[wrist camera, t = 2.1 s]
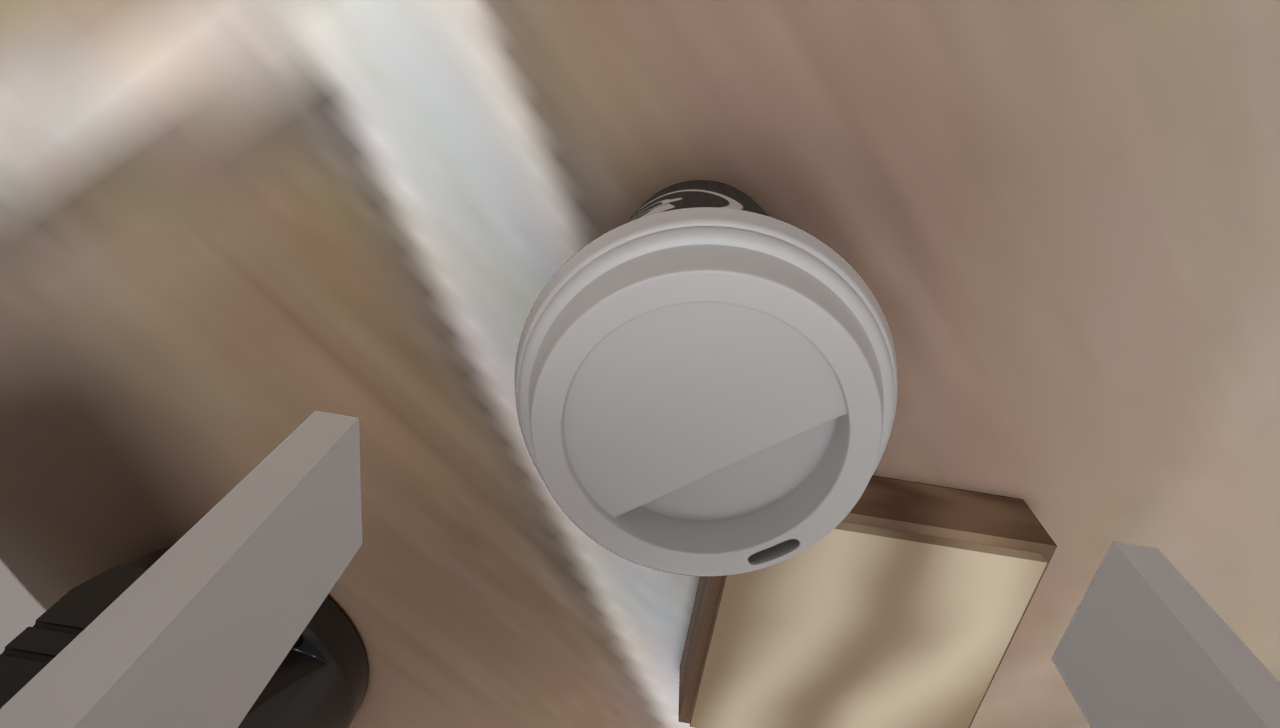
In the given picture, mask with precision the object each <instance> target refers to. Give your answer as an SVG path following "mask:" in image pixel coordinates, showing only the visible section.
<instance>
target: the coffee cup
mask: <svg viewBox="0 0 1280 728" xmlns="http://www.w3.org/2000/svg"><path fill="white" fill-rule="evenodd" d="M897 394H898V372H897V360H896V353H895V348H894V343H893V339H892V336H891V332H890V329H889V326H888V323H887V321H886V318H885V316H884V314H883V312H882V310H881V308H880V306H879V304H878V302H877V300H876V298H875V297H874V295H873V294H872V292H871V290H870V289H869V288H868V286H867V285H866V283H865V282H864V281H863V279H862V278H861V277H860V276H859V275H858V273H857V272H856V271H855V270H854V269H853V268H852V267H851V266H850V265H849V264H848V263H847V262H846V261H845V260H844V259H843V258H842V257H841V256H840V255H838V254H837V253H836V252H835V251H834V250H832V249H831V248H830V247H828V246H827V245H826V244H824V243H823V242H821V241H820V240H818V239H817V238H815V237H814V236H812V235H810V234H808V233H807V232H805V231H803V230H801V229H799V228H797V227H795V226H793V225H790V224H788V223H786V222H783V221H781V220H778V219H775V218H772V217H770V216H769V215H768V214H767V213H766V212H765V211H764V210H763V209H762V208H761V207H760V206H759V205H758V204H756V203H755V202H754V201H753V200H752V199H751V198H750V197H748V196H747V195H746V194H744V193H743V192H741V191H739V190H737V189H736V188H733V187H731V186H729V185H726V184H723V183H719V182H714V181H704V180H697V181H687V182H683V183H679V184H675V185H673V186H670V187H668V188H666V189H664V190H662V191H660V192H658V193H657V194H655V195H654V196H652V197H651V198H650V199H649V200H647V201H646V202H645V203H644V204H643V205H642V206H641V207H640V209H639V210H638V211H637V212H636V213H635V214H634V215H633V217H632V218H631V219H630V220H629V221H628V222H627V223H626V224H623V225H621V226H619V227H617V228H615V229H613V230H611V231H609V232H607V233H605V234H603V235H602V236H600V237H598V238H597V239H595V240H594V241H592V242H591V243H589V244H588V245H586V246H585V247H584V248H582V249H581V250H580V251H579V252H577V253H576V254H575V255H574V256H573V257H571V258H570V259H569V260H568V261H567V262H566V263H565V264H564V265H563V266H562V267H561V268H560V269H559V270H558V271H557V273H556V274H555V275H554V276H553V277H552V278H551V280H550V281H549V282H548V284H547V285H546V286H545V288H544V289H543V291H542V292H541V294H540V295H539V297H538V299H537V300H536V302H535V304H534V306H533V308H532V310H531V312H530V314H529V316H528V318H527V321H526V323H525V326H524V329H523V332H522V335H521V338H520V342H519V347H518V352H517V358H516V366H515V396H516V407H517V414H518V419H519V424H520V428H521V432H522V435H523V438H524V441H525V444H526V446H527V449H528V451H529V454H530V456H531V458H532V460H533V463H534V465H535V467H536V469H537V470H538V472H539V474H540V476H541V477H542V479H543V480H544V482H545V484H546V486H547V488H548V490H549V491H550V493H551V495H552V496H553V498H554V499H555V501H556V502H557V504H558V505H559V507H560V508H561V509H562V510H563V512H564V513H565V514H566V515H567V516H568V518H569V519H570V520H571V521H572V522H573V523H574V524H575V525H576V526H577V527H578V528H579V529H580V530H582V531H583V532H584V533H585V534H586V535H588V536H589V537H590V538H591V539H593V540H594V541H595V542H597V543H598V544H600V545H601V546H603V547H604V548H606V549H608V550H609V551H611V552H613V553H615V554H617V555H619V556H621V557H623V558H625V559H627V560H629V561H632V562H634V563H637V564H639V565H642V566H645V567H648V568H651V569H655V570H659V571H663V572H668V573H673V574H680V575H689V576H725V575H734V574H741V573H746V572H751V571H755V570H759V569H762V568H766V567H769V566H772V565H775V564H777V563H780V562H782V561H785V560H787V559H789V558H791V557H793V556H795V555H797V554H799V553H801V552H803V551H804V550H806V549H808V548H809V547H811V546H813V545H814V544H815V543H817V542H818V541H820V540H821V539H822V538H824V537H825V536H826V535H827V534H829V533H830V532H831V531H832V530H833V529H834V528H835V527H836V526H838V525H839V523H840V522H841V521H842V520H843V519H844V518H845V517H846V516H847V515H848V514H849V512H850V511H851V510H852V509H853V507H854V506H855V505H856V503H857V502H858V500H859V499H860V497H861V496H862V494H863V492H864V490H865V489H866V487H867V485H868V483H869V481H870V479H871V477H872V475H873V474H874V472H875V470H876V468H877V466H878V464H879V462H880V460H881V458H882V456H883V453H884V451H885V448H886V446H887V443H888V440H889V437H890V434H891V431H892V427H893V423H894V419H895V413H896V406H897Z"/></svg>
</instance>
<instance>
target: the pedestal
mask: <svg viewBox="0 0 1280 728" xmlns="http://www.w3.org/2000/svg"><path fill="white" fill-rule="evenodd" d="M1056 547H1057V545H1056V544H1055V543H1054V541H1053V540H1052V538H1051V537H1050V536H1049V534H1048V533H1047V532H1046V530H1045V529H1044V528H1043V526H1042V525H1041V523H1040V522H1039V521H1038V519H1037V518H1036V517H1035V515H1034V514H1033V512H1032V511H1031V510H1030V508H1029V507H1028V506H1027V504H1026V503H1025V501H1024V500H1022V499H1015V498H1009V497H1003V496H997V495H990V494H984V493H978V492H971V491H965V490H959V489H953V488H946V487H940V486H934V485H927V484H921V483H915V482H909V481H902V480H896V479H890V478H883V477H877V476H872V477H871V479H870V481H869V483H868V485H867V487H866V489H865V490H864V492H863V494H862V496H861V497H860V499H859V500H858V502H857V503H856V505H855V506H854V507H853V509H852V510H851V511H850V512H849V514H848V515H847V516H846V517H845V518H844V519H843V520H842V521H841V522H840V523H839V525H838V526H836V527H835V528H834V529H833V530H832V531H831V532H830V533H829V534H827V535H826V536H825V537H824V538H822V539H821V540H820V541H818V542H817V543H815V544H814V545H813V546H811V547H809V548H808V549H806V550H804V551H803V552H801V553H799V554H797V555H795V556H793V557H791V558H789V559H787V560H785V561H782V562H780V563H777V564H775V565H772V566H769V567H766V568H762V569H759V570H755V571H751V572H746V573H741V574H734V575H725V576H701V577H700V581H699V585H698V590H697V594H696V599H695V603H694V608H693V612H692V616H691V621H690V625H689V630H688V634H687V639H686V643H685V647H684V652H683V656H682V661H681V665H680V682H679V722H685V723H690V727H695V728H970V726H971V724H972V722H973V720H974V718H975V715H976V713H977V711H978V709H979V707H980V705H981V703H982V701H983V699H984V697H985V695H986V693H987V691H988V688H989V686H990V684H991V682H992V680H993V678H994V676H995V674H996V672H997V670H998V668H999V666H1000V664H1001V661H1002V659H1003V657H1004V655H1005V653H1006V651H1007V649H1008V647H1009V645H1010V643H1011V641H1012V639H1013V637H1014V634H1015V632H1016V630H1017V628H1018V626H1019V624H1020V622H1021V620H1022V618H1023V616H1024V614H1025V612H1026V610H1027V607H1028V605H1029V603H1030V601H1031V599H1032V597H1033V595H1034V593H1035V591H1036V589H1037V587H1038V585H1039V583H1040V580H1041V578H1042V576H1043V574H1044V572H1045V570H1046V568H1047V566H1048V564H1049V562H1050V560H1051V558H1052V556H1053V553H1054V551H1055V549H1056Z"/></svg>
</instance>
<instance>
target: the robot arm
mask: <svg viewBox="0 0 1280 728" xmlns="http://www.w3.org/2000/svg"><path fill="white" fill-rule="evenodd" d="M361 545H362V510H361V476H360V441H359V418H358V417H352V416H345V415H339V414H333V413H327V412H321V411H315V412H313V413H312V414H311V415H310V416H309V417H308V418H307V419H306V420H305V421H304V422H303V423H302V424H301V425H300V426H299V427H298V428H297V429H295V430H294V431H293V432H292V433H291V434H290V435H289V436H288V437H287V438H286V439H285V440H284V441H283V442H282V443H281V444H280V445H279V446H278V447H276V448H275V449H274V450H273V451H272V452H271V453H270V454H269V455H268V456H267V457H266V458H265V459H264V460H263V461H262V462H261V463H260V464H259V465H257V466H256V467H255V468H254V469H253V470H252V471H251V472H250V473H249V474H248V475H247V476H246V477H245V478H244V479H243V480H242V481H241V482H239V483H238V484H237V485H236V486H235V487H234V488H233V489H232V490H231V491H230V492H229V493H228V494H227V495H226V496H225V497H224V498H223V499H222V500H220V501H219V502H218V503H217V504H216V505H215V506H214V507H213V508H212V509H211V510H210V511H209V512H208V513H207V514H206V515H205V516H204V517H203V518H201V519H200V520H199V521H198V522H197V523H196V524H195V525H194V526H193V527H192V528H191V529H190V530H189V531H188V532H187V533H186V534H185V535H184V536H182V537H181V538H180V539H179V540H178V541H177V542H176V543H175V544H174V545H173V546H172V547H171V548H170V549H166V550H162V551H159V552H156V553H153V554H151V555H149V556H146V557H144V558H142V559H141V560H139V561H137V562H136V563H134V564H133V565H132V566H131V567H130V566H124V565H116V566H115V567H113V568H111V569H109V570H107V571H105V572H103V573H101V574H99V575H97V576H96V577H94V578H92V579H90V580H88V581H86V582H84V583H82V584H80V585H78V586H77V587H75V588H73V589H72V590H70V591H69V592H68V593H67V594H66V595H65V596H63V597H62V598H61V599H60V600H59V601H58V602H56V603H55V604H54V605H53V606H52V607H51V608H50V609H48V610H47V611H46V612H45V613H44V614H43V615H42V616H41V617H39V618H38V619H37V620H36V623H35V625H34V626H33V627H28V628H26V629H25V630H24V631H23V632H22V633H21V634H20V635H18V636H17V637H16V638H15V639H14V640H13V641H11V642H10V643H9V644H8V645H7V646H6V647H5V650H4V652H3V653H2V654H1V655H0V728H349V726H350V724H351V722H352V720H353V718H354V716H355V714H356V712H357V710H358V709H359V707H360V705H361V703H362V701H363V698H364V696H365V693H366V688H367V682H368V667H367V660H366V656H365V652H364V649H363V647H362V644H361V642H360V639H359V637H358V635H357V633H356V632H355V630H354V628H353V627H352V625H351V624H350V622H349V621H348V619H347V618H346V617H345V615H344V614H343V613H342V612H341V611H340V609H339V608H338V607H337V606H336V605H335V604H334V603H333V602H332V601H331V600H330V599H329V598H328V597H327V595H328V594H329V592H330V591H331V589H332V588H333V587H334V585H335V584H336V582H337V581H338V579H339V578H340V576H341V575H342V573H343V572H344V570H345V569H346V567H347V566H348V564H349V563H350V562H351V560H352V559H353V557H354V556H355V554H356V553H357V551H358V550H359V548H360V547H361ZM1052 660H1053V662H1054V664H1055V665H1056V667H1057V669H1058V671H1059V672H1060V674H1061V676H1062V678H1063V679H1064V681H1065V683H1066V685H1067V686H1068V688H1069V690H1070V692H1071V693H1072V695H1073V697H1074V698H1075V700H1076V702H1077V704H1078V705H1079V707H1080V709H1081V711H1082V712H1083V714H1084V716H1085V718H1086V719H1087V721H1088V723H1089V725H1090V726H1091V728H1280V682H1279V681H1278V680H1277V679H1276V678H1275V677H1274V676H1273V675H1272V674H1271V672H1270V671H1269V670H1268V669H1267V668H1266V667H1265V666H1264V665H1263V664H1262V663H1261V661H1260V660H1259V659H1258V658H1257V657H1256V656H1255V655H1254V654H1253V653H1252V652H1251V651H1250V649H1249V648H1248V647H1247V646H1246V645H1245V644H1244V643H1243V642H1242V641H1241V640H1240V638H1239V637H1238V636H1237V635H1236V634H1235V633H1234V632H1233V631H1232V630H1231V629H1230V627H1229V626H1228V625H1227V624H1226V623H1225V622H1224V621H1223V620H1222V619H1221V618H1220V616H1219V615H1218V614H1217V613H1216V612H1215V611H1214V610H1213V609H1212V608H1211V607H1210V605H1209V604H1208V603H1207V602H1206V601H1205V600H1204V599H1203V598H1202V597H1201V596H1200V594H1199V593H1198V592H1197V591H1196V590H1195V589H1194V588H1193V587H1192V586H1191V585H1190V583H1189V582H1188V581H1187V580H1186V579H1185V578H1184V577H1183V576H1182V575H1181V574H1180V572H1179V571H1178V570H1177V569H1176V568H1175V567H1174V566H1173V565H1172V564H1171V563H1170V561H1169V560H1168V559H1167V558H1166V557H1165V556H1164V555H1163V554H1162V553H1161V552H1160V550H1159V549H1158V548H1152V547H1146V546H1140V545H1134V544H1128V543H1121V542H1115V541H1113V542H1112V544H1111V546H1110V548H1109V550H1108V552H1107V553H1106V555H1105V557H1104V559H1103V561H1102V563H1101V565H1100V567H1099V569H1098V571H1097V572H1096V574H1095V576H1094V578H1093V580H1092V582H1091V584H1090V586H1089V588H1088V590H1087V591H1086V593H1085V595H1084V597H1083V599H1082V601H1081V603H1080V605H1079V607H1078V609H1077V611H1076V612H1075V614H1074V616H1073V618H1072V620H1071V622H1070V624H1069V626H1068V628H1067V630H1066V631H1065V633H1064V635H1063V637H1062V639H1061V641H1060V643H1059V645H1058V647H1057V649H1056V650H1055V652H1054V654H1053V656H1052Z"/></svg>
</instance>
